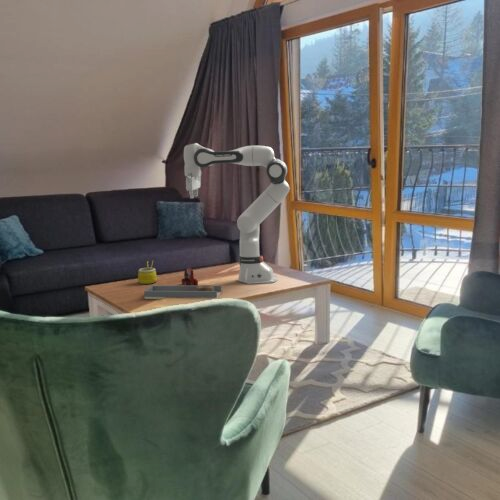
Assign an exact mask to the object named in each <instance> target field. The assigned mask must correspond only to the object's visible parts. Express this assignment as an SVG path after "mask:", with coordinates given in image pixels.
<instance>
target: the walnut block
mask: <svg viewBox="0 0 500 500" xmlns="http://www.w3.org/2000/svg"><path fill="white" fill-rule="evenodd" d="M197 286H198V287H197V288H196V290H197V291H214V286H215V285H214V284H213V285H212V284H209V285H207V284H198V285H197Z"/></svg>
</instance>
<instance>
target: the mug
mask: <svg viewBox="0 0 500 500" xmlns="http://www.w3.org/2000/svg"><path fill="white" fill-rule="evenodd" d="M153 263H154V260H151V266H150V267H149V260H148V261H146V267H142V268H139V269H138V271H137V272H138V273H137V281H138V283H140V284H141V285H150V284H154V283H156V282H157V280H158V276H157V271H156V270H157V269H156V268H155V267H153Z"/></svg>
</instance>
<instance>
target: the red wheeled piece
mask: <svg viewBox="0 0 500 500" xmlns="http://www.w3.org/2000/svg"><path fill="white" fill-rule="evenodd" d="M183 277H184V278H181V281H180V283H181V285H194V286H199V281H198V279H197V278H195V277H194V270H193V269H192V268H190V267H189V266H185V268H184V275H183Z"/></svg>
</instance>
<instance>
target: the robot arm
mask: <svg viewBox="0 0 500 500" xmlns="http://www.w3.org/2000/svg"><path fill="white" fill-rule="evenodd" d="M183 161H184V170H183V171H184V177H185V189H186V191H187V192H188V193H189V199H194V198H197V197H198V194H199V189H200V188H201V185H202V173H203V172H202V170H201V168H202V169H203V168H207V167H211V166H213V165H214V164H235V165H241V166H247V167H258V166H259V167H264V168H265V169H266V171H265V172H266V175H267V178H268V179H269V181H270V184H269V185H268V186H267V187H266V189H264V191H262V193H261V194H260V195H259V196H258V197H257V198H256V199H255V200H254V201H253V202H252V203H251V204H250V205H249V206H248V207H247V208H246V209H245V210H244V211H243V212H242V213H241V215H239V216H238V218H237V221H236V227H237V228H238V230H239V231H240V232H239V256H238V264H239V265H238V266H239V273H238V277H237V278H238V279H237V281H238V282H240V283H244V284H246V285H247V284H248V285H249V284H254V285H255V284H271V283H272V284H273V283H276V282H277V281H278V279H279V278H278V276H277V275H275V274H274V270H273V268H272V267H271V266H269V264H267V263H265V262H264V257H263V255H260V224H262V222H264V220H266V218H268V216H270V214H271V213H273V211H274V210H275V209H276V208H277V207H278V206H280V204H281V203H282V202H283V201H284V200H285V198H286V197H287V196H288V194H289V192H290V191H291V190H290V189H291V188H290V185H289V183H288V182H287V181H286V176H287V174H288V171H289V169H288V164H287V163H286V162H285V161H284V160H282V159H280V158H278V157H276V156H275V152H274V149H273V148H272V147H271V146H267V145H266V146H265V145H246V146H242V147H238V148H236V149H231V150H225V151H214V150H213V149H212V148H208V147H204V146H202V145H200V144H199V143H198V142H193V143H188V144H186V145H185V146H184V148H183Z"/></svg>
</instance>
